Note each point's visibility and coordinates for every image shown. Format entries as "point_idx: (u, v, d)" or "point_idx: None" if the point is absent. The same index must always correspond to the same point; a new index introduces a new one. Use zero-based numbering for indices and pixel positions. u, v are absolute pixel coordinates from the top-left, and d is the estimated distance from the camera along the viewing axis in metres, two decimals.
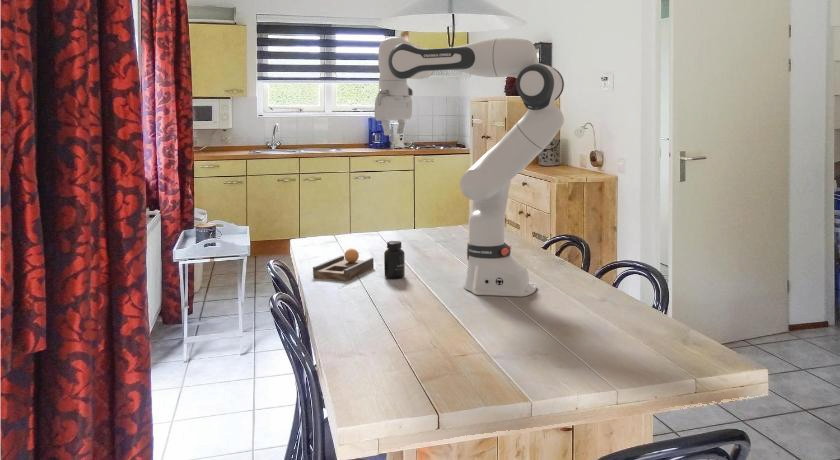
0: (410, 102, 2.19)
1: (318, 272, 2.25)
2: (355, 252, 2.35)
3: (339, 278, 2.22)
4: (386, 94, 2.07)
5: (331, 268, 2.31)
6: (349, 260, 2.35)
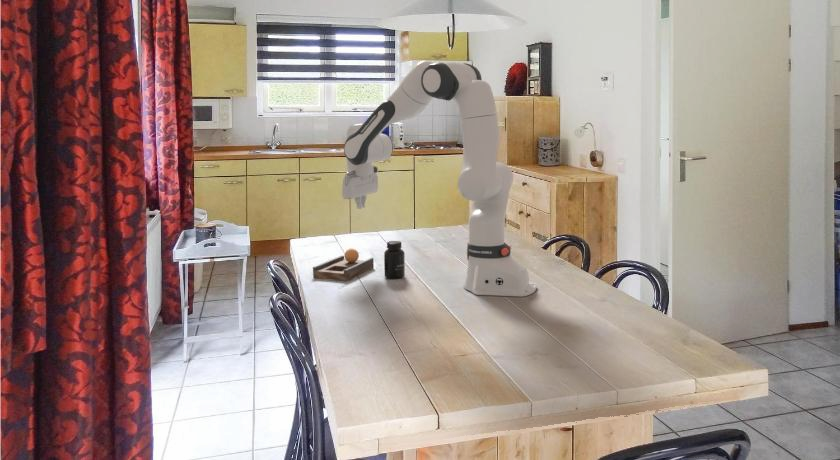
0: (376, 178, 2.45)
1: (318, 272, 2.25)
2: (355, 252, 2.35)
3: (339, 278, 2.22)
4: (353, 175, 2.33)
5: (331, 268, 2.31)
6: (349, 260, 2.35)
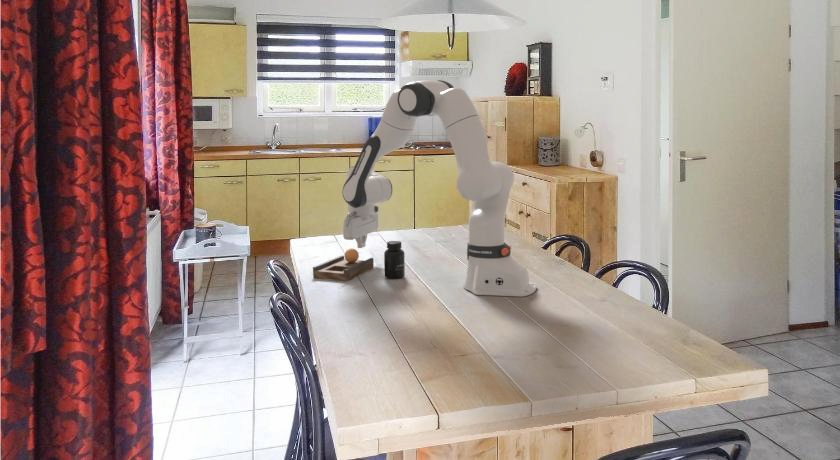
0: (376, 216, 2.48)
1: (318, 272, 2.25)
2: (355, 252, 2.35)
3: (339, 278, 2.22)
4: (354, 215, 2.36)
5: (331, 268, 2.31)
6: (349, 260, 2.35)
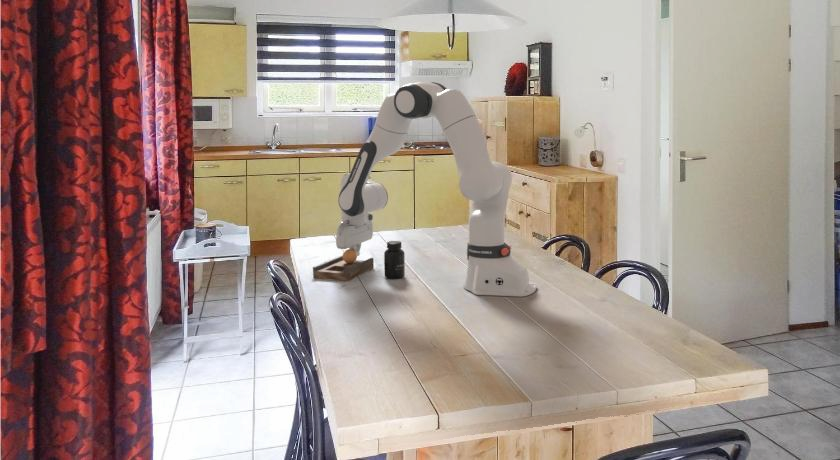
0: (371, 225, 2.43)
1: (318, 272, 2.25)
2: (352, 254, 2.33)
3: (339, 278, 2.22)
4: (347, 224, 2.32)
5: (331, 268, 2.31)
6: None
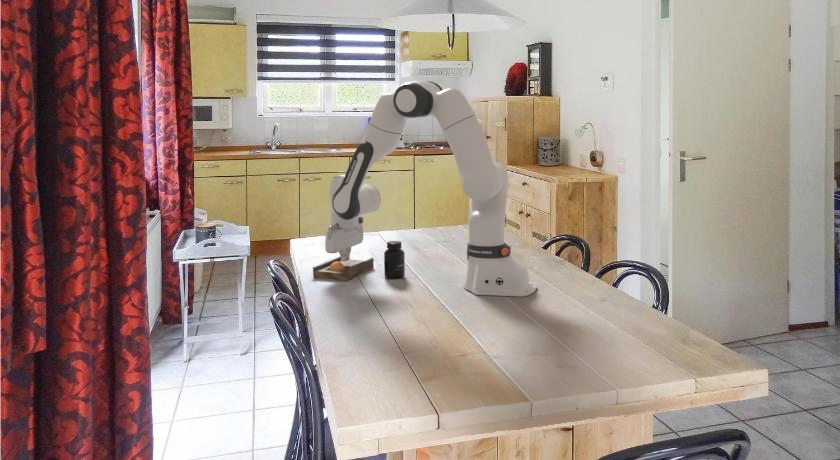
0: (361, 228, 2.37)
1: (318, 272, 2.25)
2: None
3: (339, 278, 2.22)
4: (336, 228, 2.25)
5: None
6: (336, 263, 2.27)
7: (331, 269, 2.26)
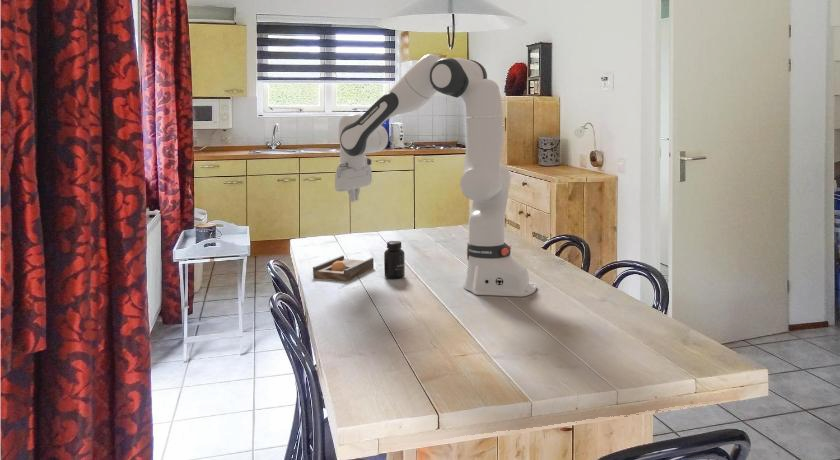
0: (369, 170, 2.40)
1: (318, 272, 2.25)
2: None
3: (339, 278, 2.22)
4: (345, 166, 2.28)
5: None
6: (339, 261, 2.29)
7: (333, 265, 2.27)
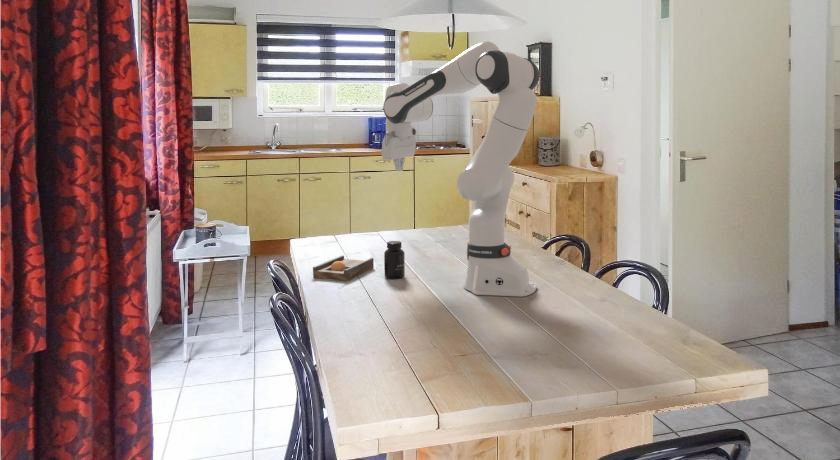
0: (414, 140, 2.40)
1: (318, 272, 2.25)
2: (345, 268, 2.29)
3: (339, 278, 2.22)
4: (392, 135, 2.28)
5: None
6: (338, 261, 2.28)
7: (332, 266, 2.27)
